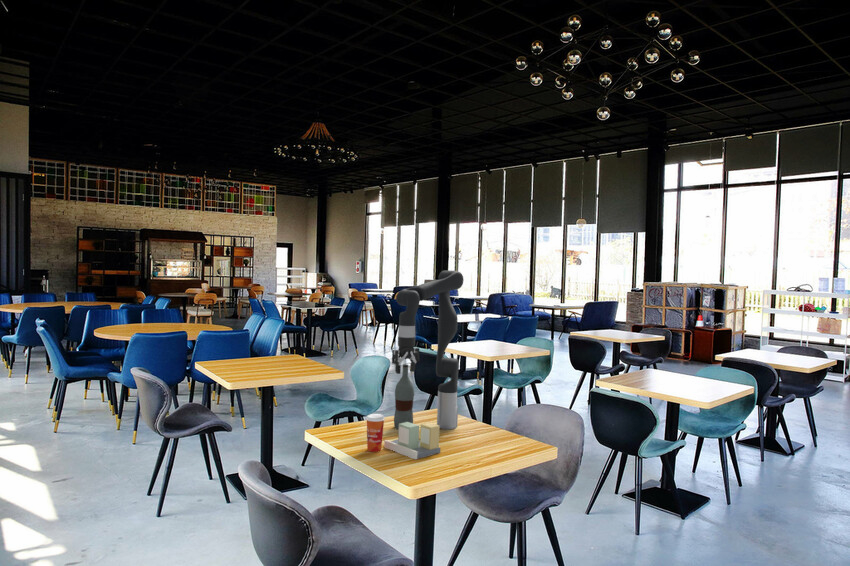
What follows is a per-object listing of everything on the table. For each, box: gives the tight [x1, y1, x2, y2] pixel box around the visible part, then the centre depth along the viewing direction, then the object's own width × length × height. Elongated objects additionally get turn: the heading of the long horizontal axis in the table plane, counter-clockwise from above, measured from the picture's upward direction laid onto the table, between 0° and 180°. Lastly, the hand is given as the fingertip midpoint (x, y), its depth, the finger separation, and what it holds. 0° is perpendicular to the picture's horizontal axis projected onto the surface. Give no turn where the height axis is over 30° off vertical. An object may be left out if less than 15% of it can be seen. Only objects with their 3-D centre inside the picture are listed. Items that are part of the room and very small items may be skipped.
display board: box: [383, 439, 441, 460], centre depth 222 cm, size 14×19×3 cm
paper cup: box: [365, 413, 386, 453], centre depth 220 cm, size 8×8×14 cm
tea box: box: [397, 422, 420, 449], centre depth 220 cm, size 5×7×9 cm
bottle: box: [393, 364, 415, 431], centre depth 254 cm, size 9×9×30 cm
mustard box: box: [419, 422, 440, 450], centre depth 220 cm, size 5×6×9 cm
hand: (405, 372), depth 236 cm, fingers open, 8 cm apart
